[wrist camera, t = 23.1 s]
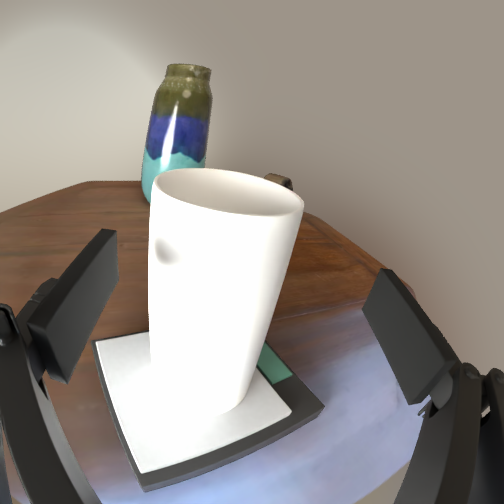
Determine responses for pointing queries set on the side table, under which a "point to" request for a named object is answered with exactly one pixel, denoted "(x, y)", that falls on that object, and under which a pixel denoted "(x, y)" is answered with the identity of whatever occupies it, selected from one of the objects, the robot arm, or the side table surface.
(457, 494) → the robot arm
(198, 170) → the cup
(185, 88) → the vase
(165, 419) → the scale
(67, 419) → the side table surface
